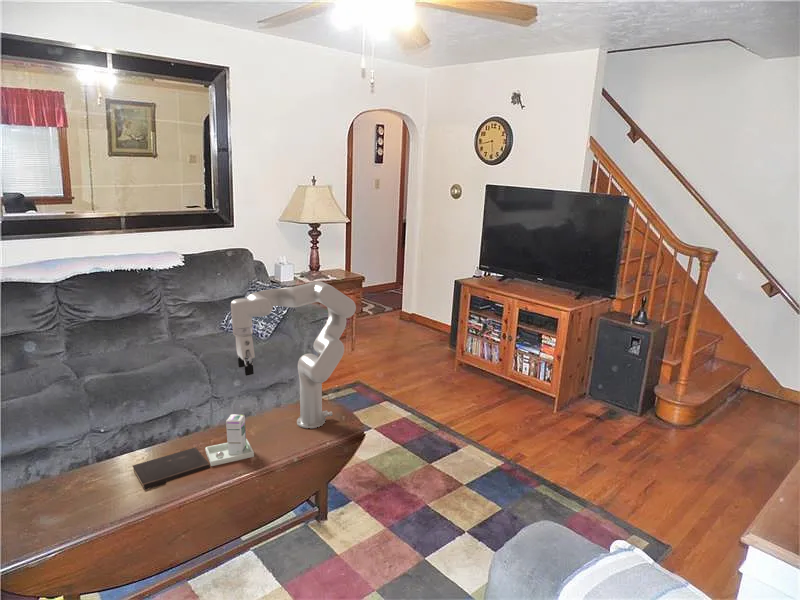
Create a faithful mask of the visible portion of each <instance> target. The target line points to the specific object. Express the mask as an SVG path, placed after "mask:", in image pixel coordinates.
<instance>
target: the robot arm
mask: <svg viewBox="0 0 800 600" xmlns="http://www.w3.org/2000/svg"><path fill="white" fill-rule="evenodd" d="M314 303H320V304H322V305H324V307H326V308H327V312H328V313H327V314H328V317H327V320H326V322H325V324H324V326H323V327H322V329H321V330H320V332H319V333H318V335H317V336H316V338H315V340H314V342H313V344H312V345H313V349H314V351H315V352H316V353H318V355H319V356H318V355H316V354H314V353H305V354H303V355H301V356H300V357H299V359H298V361H297V372H298V380H299V407H300V408H299V409H300V410H299V412H300V414H299V415H300V416H298V418H297V420H296V424H297V426H298V427H300V428H303V429H308V428H310V429H317V427H318V428H319V427H320V426H321V427H322V426H324V425H325V424H326V422H325V421H327V420H326V418H328V417H333V414H334V413H333V411H328V410H323V395H322V394H323V393H322V391H323V386H322V385H323V384H322V383H324V382H326V381H327V380H328V379H329V378H330V377H331V375H332V374H333V372H334V371H335V369H336V368H337V366H338V364H339V363H340V362H341V360H342V358H343V356H344V352H345V345H344V343H343V342H342V341H341V340H340V338H341V337H342V334H343V333H344V331H345V330H346V326H347V318H350V317H353V316H354V314H355V313H356V310H357V305H356V303H355V301H354V300H353V299H352V298H350V297H348V296H347V295H346V294H344V293H343V292H341V291H340V290H339V289H337V288H335V286H332V285H330V284H328V283H326V282H324V281H321V280H320V281H312V282H309V283H304V284H300V285H295V286H290V287H282V288H281V287H279V288H270V289H264V290H260V291H255V292H252V293H251V294H249V295H247V296H246V298H245V297H244V298H243V297H242V298H236V299H233V300H232V301H231V302H230V313H231V315H230V316H231V324H232V335H233V336H234V337H235V349H236V355H237V363H238V368H243V367H244V375H245V376H246V377H247V376H251V375H254V363H253V359H255V356H256V355H255V354H256V353H255V348H254V347H255V346H254V340H253V336H252V334H253V333H254V330H253V328H254V327H253V317H254V318H258V317H261V318H262V317H266V316H268V315H270V314H271V313H272V311H273V307H285V308H299V307H302V306H306V305H311V304H314ZM324 423H325V424H324ZM323 424H324V425H323Z"/></svg>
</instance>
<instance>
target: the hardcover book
mask: <svg viewBox="0 0 800 600" xmlns="http://www.w3.org/2000/svg"><path fill="white" fill-rule="evenodd" d="M210 468H211V465H210V462H209V461H207V460H206V458H205V457H204V456H203V455H202V453H201V452H200V451H199V450H198V448H197V447H196V446H195V447H191V448H188V449H185V450H183V451H182V450H181V451H178V452H175V453H172V454H171V453H170V454H169V455H164V456H161V457H158V458H154V459H151V460H146V461H144V462H143V461H142V462H141V463H137V464H134V465H133V464H132V469H133V472H134V473H135V475H136V478H138V480H139V481H140V484H141V485H142V487H143V490H149V489H151V488H155V487H158V486H161V485H163V484H164V485H165V484H167V482H170V481H172V480H174V479H175V480H176V479H179V478H181V477H185V476H188V475H191V474H194V473H197V472H200V471H203V470H207V469H210ZM148 488H149V489H148Z"/></svg>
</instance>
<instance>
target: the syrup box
mask: <svg viewBox="0 0 800 600" xmlns="http://www.w3.org/2000/svg"><path fill="white" fill-rule="evenodd" d="M225 426H226V439H227V442H226V443H228V454H235V455H240V454H243V453H244V451H245V449H246V448H247V444H246V439H247V433H246V432H247V431H246V430H247V429H246V418H245V414H241V413H238V414H237V413H236V414H235V413H234V414H233V413H232V414H231V413H230V415H229V416H228V418H227V419H226V421H225Z"/></svg>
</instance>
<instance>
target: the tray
mask: <svg viewBox="0 0 800 600" xmlns="http://www.w3.org/2000/svg"><path fill="white" fill-rule="evenodd" d="M246 444H247V448H246V449H245V451H244V453H243V454H240V455H235V454H228V442H223V443H219V444H214V445H209V446H206V447H205V453H206V457H207V460H208V463H209V464H210V467H214V466H219V465H223V464H228V463H233V462H237V461H242V460H246V459H249V458H254V457H255V452H254V449H253V448H252V445H251V444H250V442H249V440H248V439H247V438H246ZM219 451H222V452H223V453H224V457H223V458H222V459H217V458H216V453H217V452H219Z"/></svg>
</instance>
